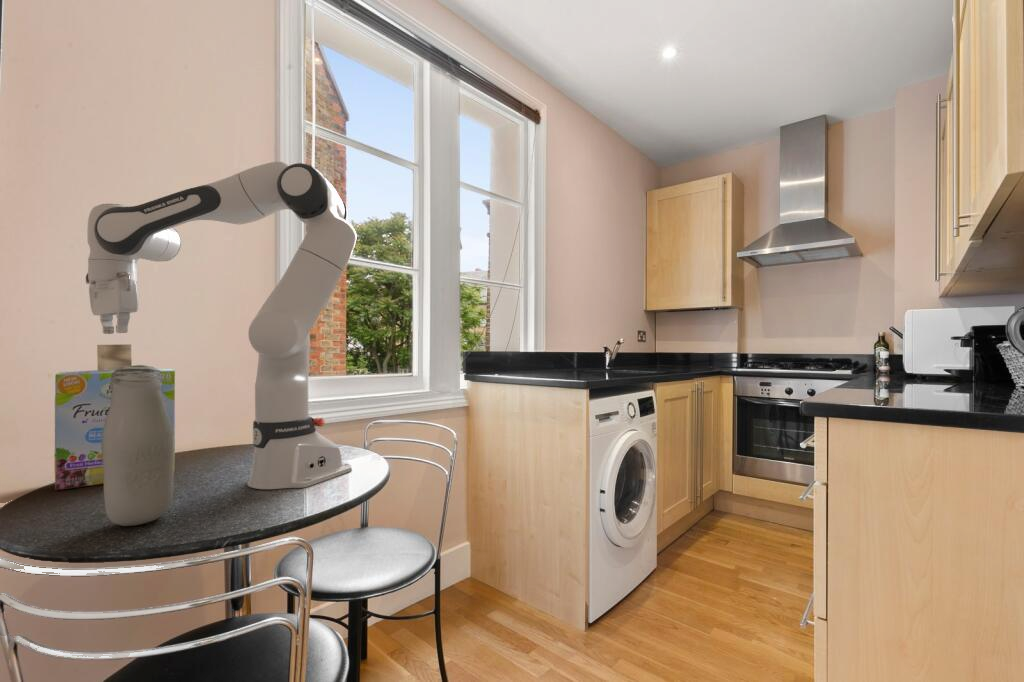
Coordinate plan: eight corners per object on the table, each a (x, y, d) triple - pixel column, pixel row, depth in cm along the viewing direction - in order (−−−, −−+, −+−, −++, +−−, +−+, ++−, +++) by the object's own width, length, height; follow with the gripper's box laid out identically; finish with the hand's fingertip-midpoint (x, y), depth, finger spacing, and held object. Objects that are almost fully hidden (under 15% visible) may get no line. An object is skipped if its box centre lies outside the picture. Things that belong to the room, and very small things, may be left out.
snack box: (53, 492, 102) (51, 373, 102) (58, 483, 109) (56, 371, 109) (176, 474, 116) (175, 368, 116) (174, 466, 123) (172, 367, 122)
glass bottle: (160, 508, 91) (158, 363, 91) (183, 519, 86) (181, 364, 85) (94, 525, 83) (91, 366, 83) (114, 539, 77) (112, 367, 77)
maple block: (124, 369, 115) (123, 344, 115) (131, 369, 112) (131, 344, 112) (97, 370, 111) (97, 344, 111) (104, 371, 108) (104, 344, 108)
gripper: (146, 271, 108) (147, 332, 108) (115, 279, 120) (117, 334, 120) (111, 268, 103) (112, 332, 103) (83, 277, 115) (84, 334, 115)
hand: (115, 333), depth 112 cm, fingers open, 8 cm apart
